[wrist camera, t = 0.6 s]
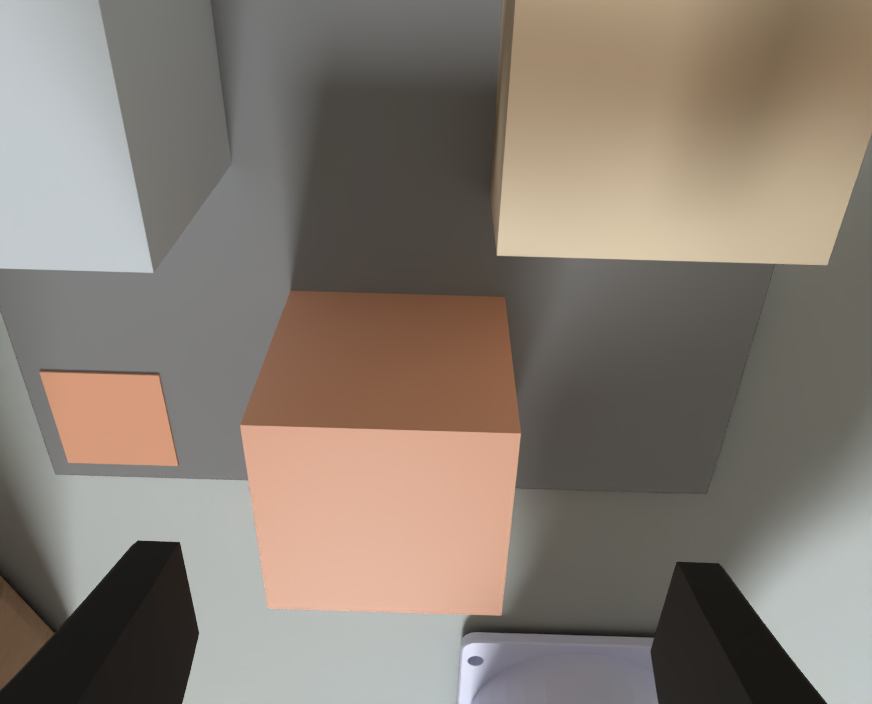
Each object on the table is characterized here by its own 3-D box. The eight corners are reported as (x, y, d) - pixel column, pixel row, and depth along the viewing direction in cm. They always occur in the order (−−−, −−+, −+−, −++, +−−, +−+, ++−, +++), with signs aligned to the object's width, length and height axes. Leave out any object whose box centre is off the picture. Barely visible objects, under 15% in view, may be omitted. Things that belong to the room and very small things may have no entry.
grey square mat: (703, 484, 21) (707, 495, 21) (61, 464, 21) (54, 475, 21) (910, -235, 13) (925, -239, 12) (-177, -265, 13) (-196, -269, 12)
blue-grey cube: (231, 164, 16) (153, 272, 12) (-5, 157, 16) (-166, 263, 12) (196, -113, 13) (77, -99, 9) (-88, -120, 13) (-335, -110, 9)
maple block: (769, 202, 16) (827, 265, 14) (489, 194, 16) (497, 256, 14) (861, -130, 13) (959, -126, 11) (511, -139, 13) (525, -137, 11)
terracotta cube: (491, 460, 20) (501, 615, 16) (305, 454, 20) (267, 608, 16) (505, 297, 18) (520, 433, 14) (290, 290, 18) (240, 425, 14)
